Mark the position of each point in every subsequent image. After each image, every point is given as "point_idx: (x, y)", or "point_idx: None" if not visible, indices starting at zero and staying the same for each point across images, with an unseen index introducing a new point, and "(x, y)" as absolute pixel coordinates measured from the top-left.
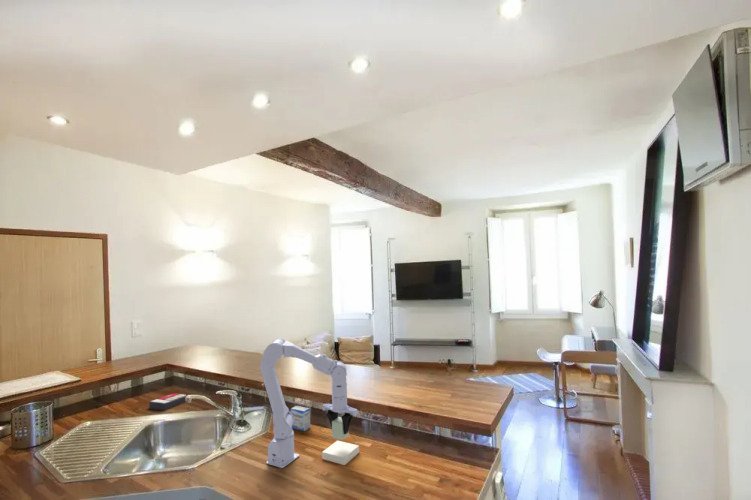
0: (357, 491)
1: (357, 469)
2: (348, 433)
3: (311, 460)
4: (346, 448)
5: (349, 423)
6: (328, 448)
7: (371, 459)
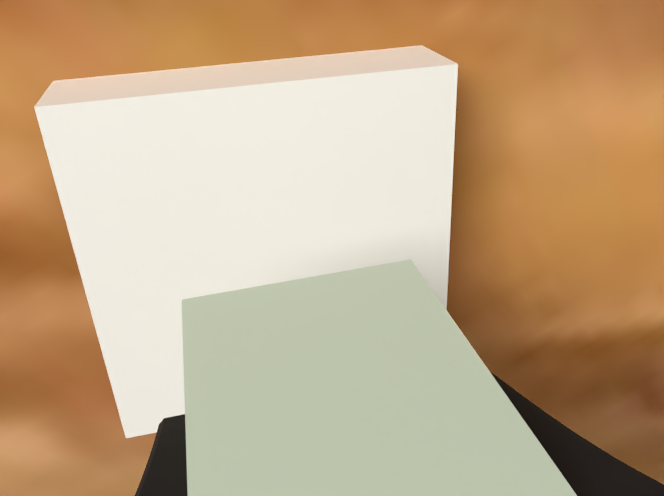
0: (658, 479)
1: (559, 315)
2: (422, 281)
3: (57, 459)
4: (343, 224)
5: (600, 470)
6: (125, 349)
7: (622, 103)
